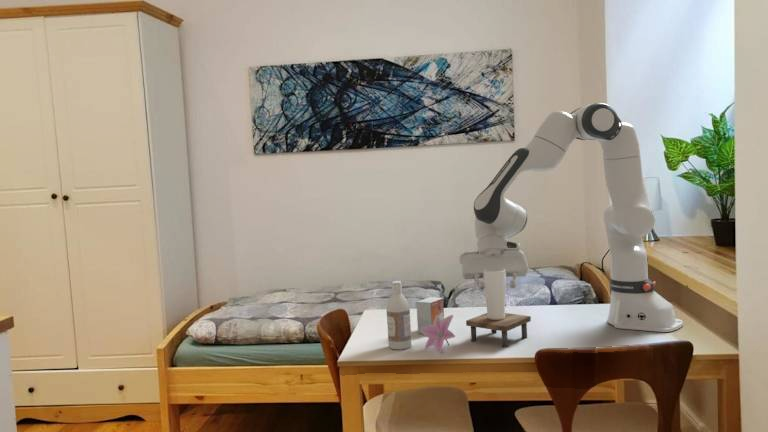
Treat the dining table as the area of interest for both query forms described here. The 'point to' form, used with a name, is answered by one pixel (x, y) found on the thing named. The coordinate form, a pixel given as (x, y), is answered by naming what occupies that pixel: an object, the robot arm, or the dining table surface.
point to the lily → (438, 333)
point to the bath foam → (398, 319)
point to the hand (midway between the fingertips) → (497, 287)
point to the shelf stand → (499, 325)
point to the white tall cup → (495, 293)
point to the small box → (429, 311)
